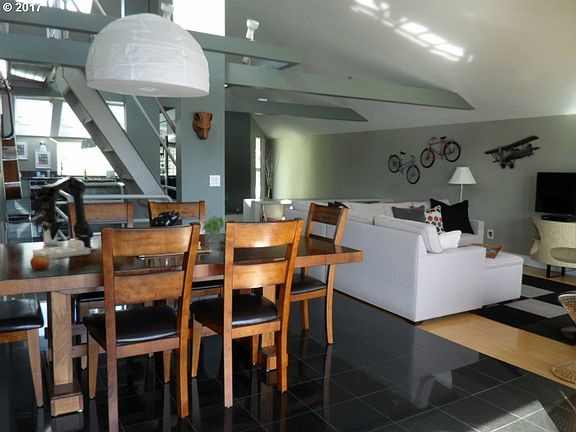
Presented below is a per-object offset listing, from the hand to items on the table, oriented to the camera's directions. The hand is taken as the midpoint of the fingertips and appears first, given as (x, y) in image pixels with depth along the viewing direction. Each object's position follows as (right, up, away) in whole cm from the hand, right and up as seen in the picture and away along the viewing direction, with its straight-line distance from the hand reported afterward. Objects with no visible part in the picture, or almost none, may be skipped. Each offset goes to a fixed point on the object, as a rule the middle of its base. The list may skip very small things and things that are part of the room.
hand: (50, 239), depth 241 cm
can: (-20, -6, +38) cm, 43 cm away
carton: (+2, -9, +9) cm, 13 cm away
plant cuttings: (+80, -6, +59) cm, 99 cm away
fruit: (+10, -13, -28) cm, 33 cm away
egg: (0, -2, 0) cm, 2 cm away
